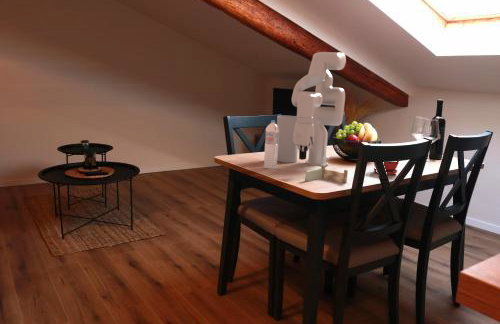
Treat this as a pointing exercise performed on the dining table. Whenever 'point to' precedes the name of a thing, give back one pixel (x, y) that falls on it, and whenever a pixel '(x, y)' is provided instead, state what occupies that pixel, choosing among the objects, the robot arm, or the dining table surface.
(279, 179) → the dining table surface
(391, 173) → the plant pot
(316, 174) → the bar
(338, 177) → the fence fixed
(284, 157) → the cylinder vase
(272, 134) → the water bottle
